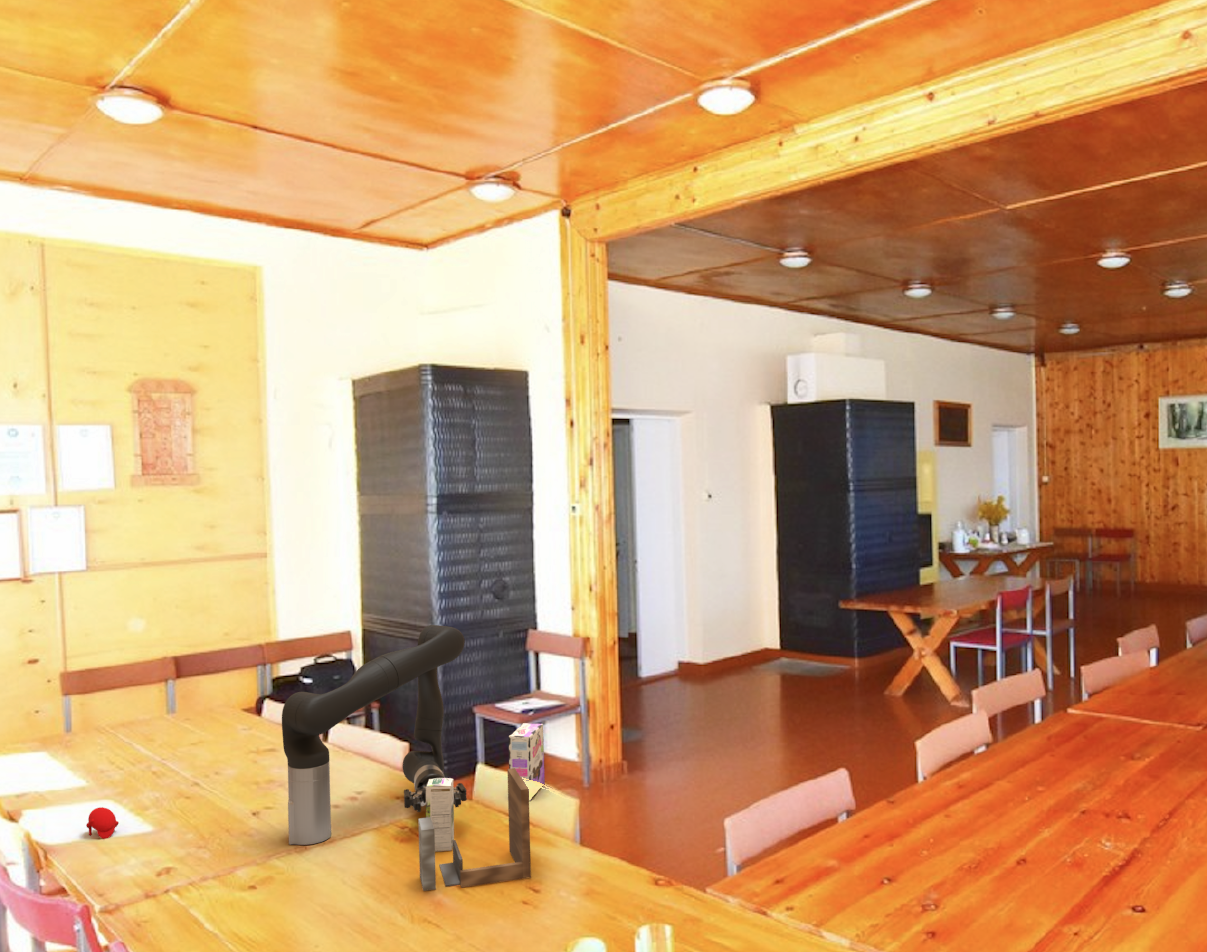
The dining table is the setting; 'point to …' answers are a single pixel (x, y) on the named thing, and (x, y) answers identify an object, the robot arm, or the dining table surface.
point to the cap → (102, 822)
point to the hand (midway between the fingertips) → (438, 805)
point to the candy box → (527, 752)
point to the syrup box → (441, 811)
